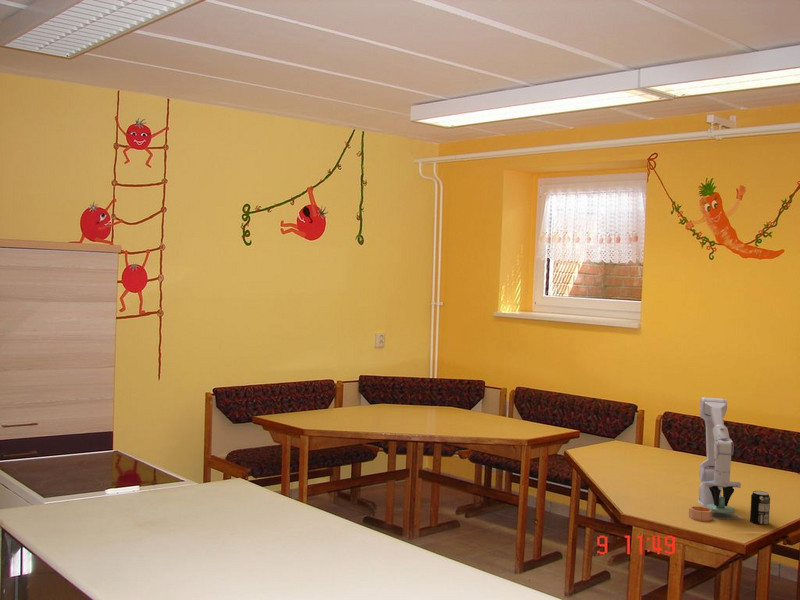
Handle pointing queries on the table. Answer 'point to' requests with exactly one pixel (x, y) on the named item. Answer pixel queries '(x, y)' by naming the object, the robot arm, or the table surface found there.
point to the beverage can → (760, 507)
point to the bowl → (700, 513)
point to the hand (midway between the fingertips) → (720, 505)
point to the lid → (721, 506)
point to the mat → (724, 515)
